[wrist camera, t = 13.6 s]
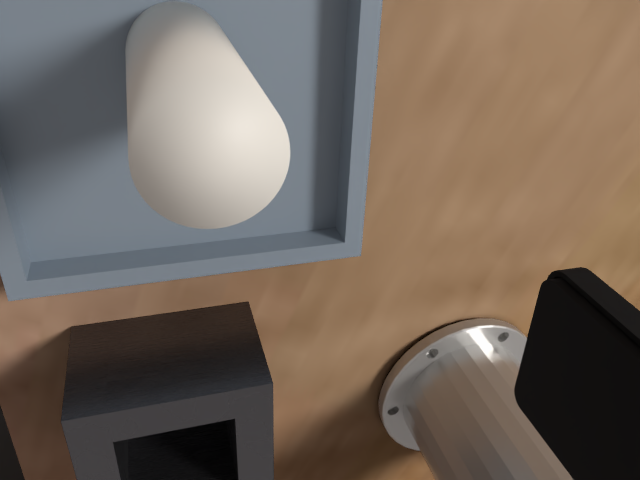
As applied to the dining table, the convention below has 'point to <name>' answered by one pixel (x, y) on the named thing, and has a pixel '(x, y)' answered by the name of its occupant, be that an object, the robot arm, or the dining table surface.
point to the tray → (112, 144)
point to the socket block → (170, 398)
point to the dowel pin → (198, 121)
